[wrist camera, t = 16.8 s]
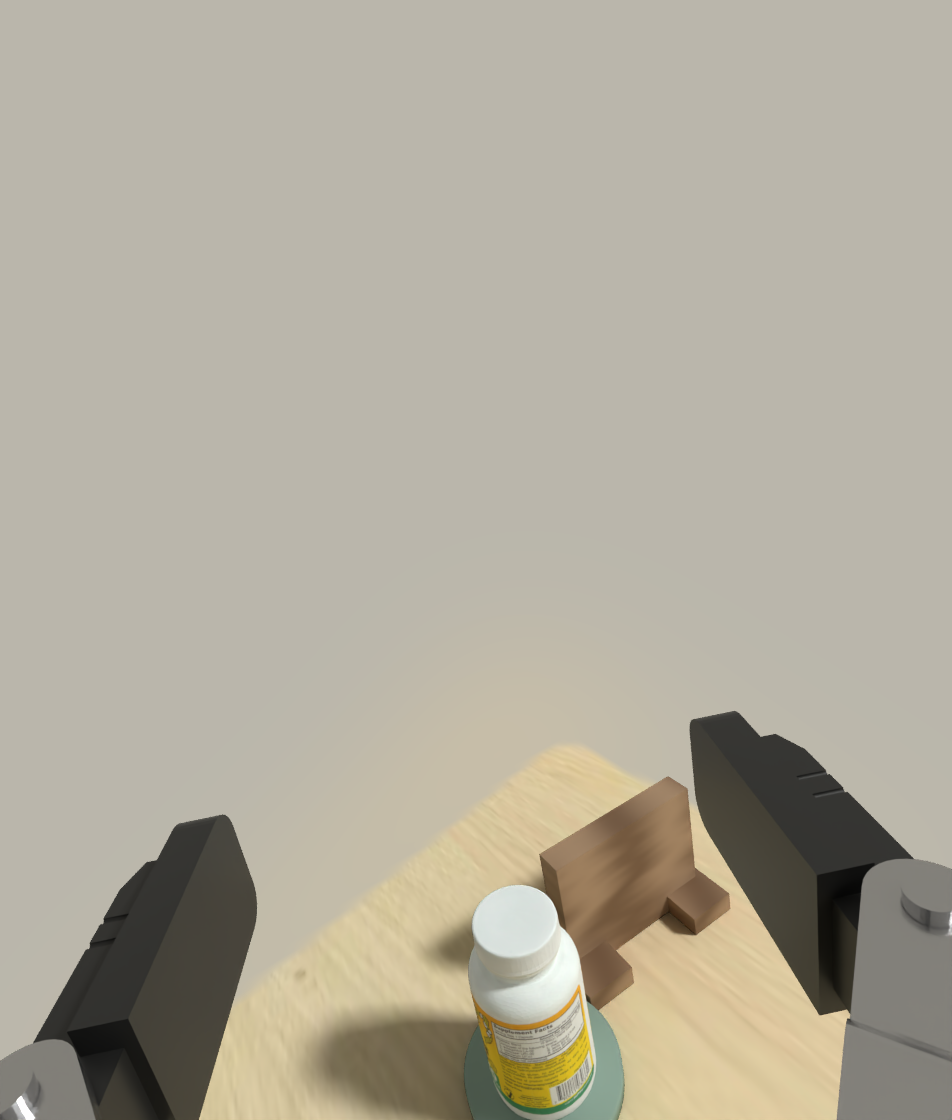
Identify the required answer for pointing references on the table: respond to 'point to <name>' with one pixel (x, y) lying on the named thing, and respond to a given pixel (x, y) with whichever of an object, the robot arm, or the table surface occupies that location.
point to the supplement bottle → (531, 1004)
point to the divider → (628, 883)
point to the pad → (592, 1116)
